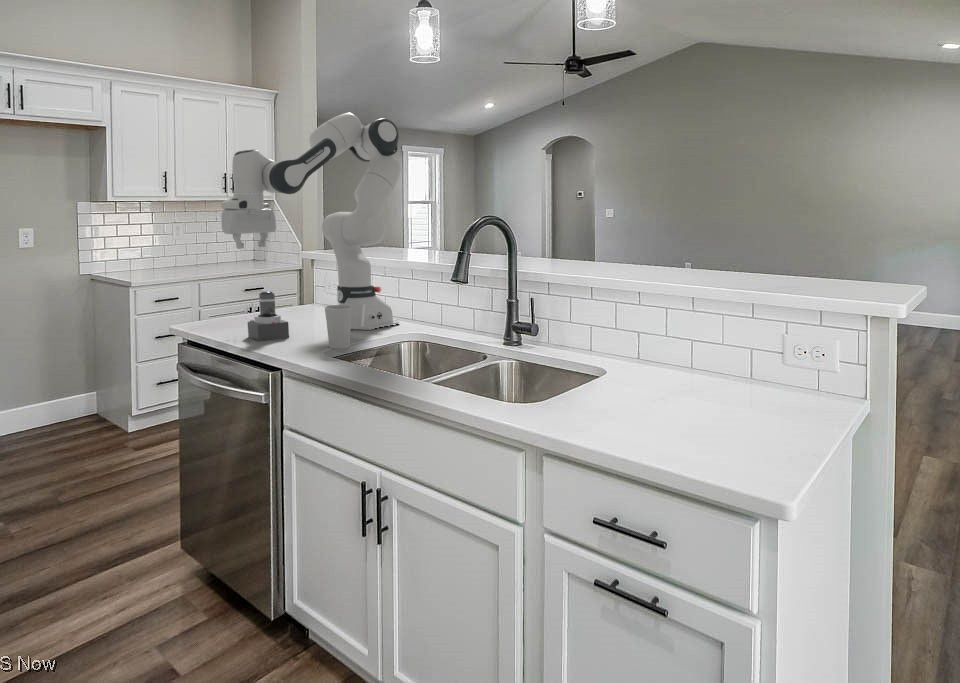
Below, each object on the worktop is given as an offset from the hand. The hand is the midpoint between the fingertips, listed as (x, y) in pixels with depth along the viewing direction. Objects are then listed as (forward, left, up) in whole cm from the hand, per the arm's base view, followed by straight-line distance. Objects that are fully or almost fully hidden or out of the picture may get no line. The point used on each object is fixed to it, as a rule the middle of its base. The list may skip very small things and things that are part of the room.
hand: (251, 247), depth 219 cm
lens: (-2, +7, -23) cm, 24 cm away
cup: (-12, +33, -28) cm, 45 cm away
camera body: (-1, +7, -28) cm, 29 cm away
